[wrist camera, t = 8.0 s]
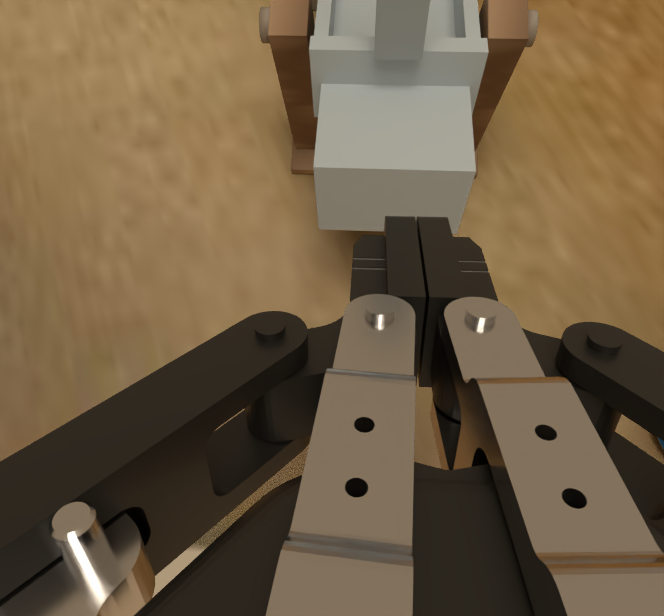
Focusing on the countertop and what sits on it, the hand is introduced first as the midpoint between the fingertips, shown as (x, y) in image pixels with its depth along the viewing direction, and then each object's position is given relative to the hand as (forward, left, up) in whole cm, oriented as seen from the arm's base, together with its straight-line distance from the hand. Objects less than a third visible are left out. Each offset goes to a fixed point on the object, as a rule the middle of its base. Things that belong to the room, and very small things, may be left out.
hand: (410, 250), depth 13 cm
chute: (0, +12, -13) cm, 18 cm away
